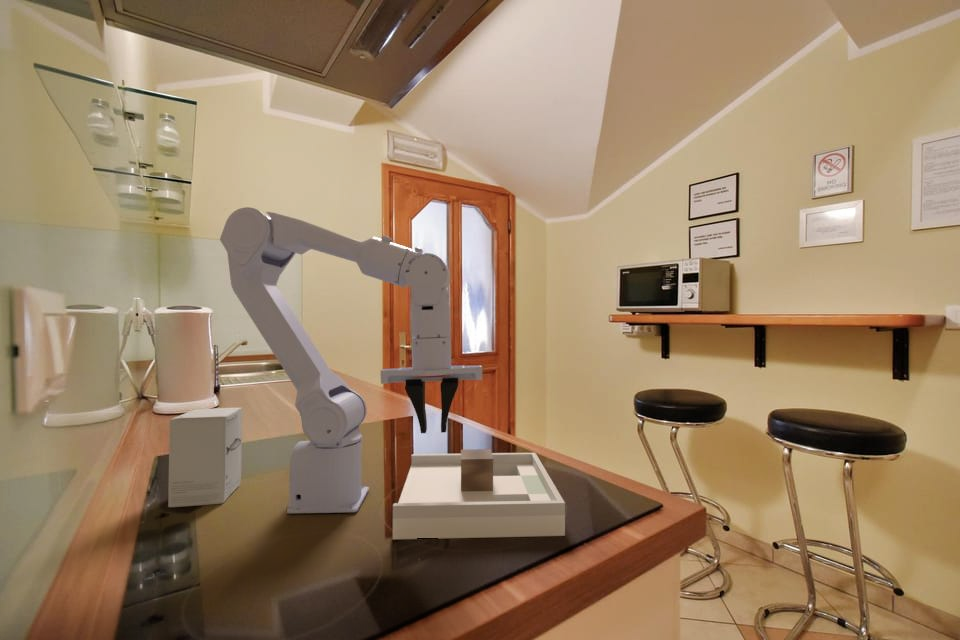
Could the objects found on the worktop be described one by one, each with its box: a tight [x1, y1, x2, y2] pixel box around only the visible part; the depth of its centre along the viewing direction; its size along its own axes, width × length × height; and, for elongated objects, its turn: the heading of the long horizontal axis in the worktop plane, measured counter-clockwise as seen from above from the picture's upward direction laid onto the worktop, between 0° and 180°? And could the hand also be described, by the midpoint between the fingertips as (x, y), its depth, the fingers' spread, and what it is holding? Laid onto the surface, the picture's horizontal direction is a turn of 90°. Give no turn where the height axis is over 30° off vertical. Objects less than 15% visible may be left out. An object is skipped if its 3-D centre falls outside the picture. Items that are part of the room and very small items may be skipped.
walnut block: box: [460, 448, 493, 492], centre depth 60 cm, size 4×4×4 cm
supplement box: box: [167, 407, 243, 508], centre depth 62 cm, size 7×7×13 cm
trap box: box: [392, 452, 566, 540], centre depth 60 cm, size 21×20×4 cm
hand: (433, 431), depth 60 cm, fingers open, 2 cm apart
